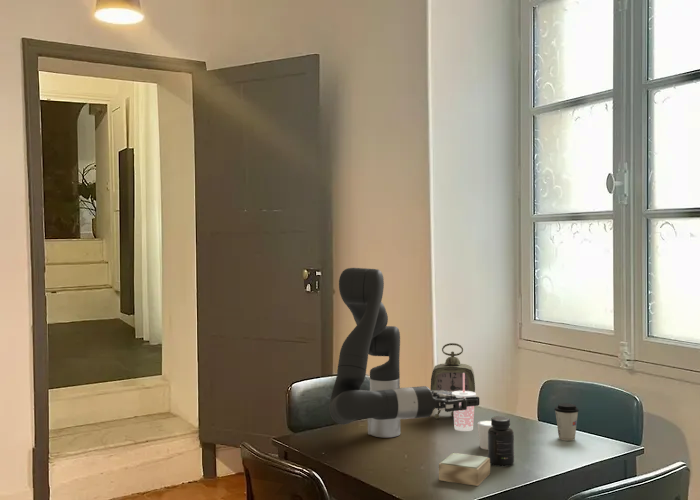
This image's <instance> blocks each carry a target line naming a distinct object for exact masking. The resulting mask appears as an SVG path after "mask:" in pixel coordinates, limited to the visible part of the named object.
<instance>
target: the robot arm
mask: <svg viewBox="0 0 700 500" xmlns="http://www.w3.org/2000/svg"><path fill="white" fill-rule="evenodd" d="M384 279H385V278H384V275H383V272H382V271H381V270H380V269H378V268H377V269H376V268H366V267H365V268H363V267H348V268H346V269H343V271H342V272H341V273H340V275H339V279H338V291H339V295H340V298H341V300H342V302H343V303H344V304H345V305H346V307H347V308H348V309H349V311H350V312H351V314H352V317H353V319H354V322H355V324H356V325H355V327H354V328H353V329H352V331H351V332H350V333H349V334H348V335H347V337H346V338H345V339H344V341H343V343H342V345H341V348H340V351H339V355H338V356H339V357H338V361H337V362H338V363H337V371H336V378H335V382H334V384H333V388H332V392H331V395H330V399H329V405H328V406H329V415H330V417H331V419H332V420H333V421H334V422H335V423H336V424H338V425H347V424H350V423H353V422H354V421H357V420H364V419H367V434H368V435H370V436H373V437H377V438H395V437H398V436H400V435H401V420H407V419H421V418H422V419H423V418H430V417H431V416H432V414H433V412H434V410H435V409H437V411H438V410H441V411H444V412H446V413H449V412H450V413H451V412H453V411H459V410H466V409H467V407H468V406H474V407H477V406H479V405H480V397H479V396H477V395H476V396H474V397H456V395H452V394H451V393H452V391H447V390H431V388H429V387H428V386H425V385H421V386H420V385H419V386H408V387H406V386H405V387H401V383H400V382H401V381H400V380H401V379H400V377H401V376H400V375H401V372H400V357H401V356H400V354H401V353H400V352H401V334H400V333H401V332H400V329H399V327H398V326H395V325H393V326H392V325H391V326H390V325H388V323H389V318H388V317H389V316H388V314H387V313H388V312H387V310H386V307H385V305H384V303H383V302H382V300H383V295H384V285H385V282H384ZM369 356H372V357H388V360H386V362H384V363H383V364H380V365H377V366H373V367H372V368H370V370H369V390H366V389H365V390H364V389H361V387H362V385H363V383H364V382H365V379H366V374H367V367H368V359H369ZM460 402H461V405H459V403H460Z"/></svg>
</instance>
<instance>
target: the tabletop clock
mask: <svg viewBox="0 0 700 500" xmlns="http://www.w3.org/2000/svg"><path fill="white" fill-rule="evenodd" d="M448 346H457V347H459V348H460V349H461V351H460V352H458V353H455V351H451V352H450V353H447V352H446V351H444V349H445V348H446V347H448ZM441 351H442V353H443V354H444V355H446V356H447V357H446V360H445V362H444V363H440V364H436V365H434V367H433V370H432V373H431V378H430V390H447V391H452V392H454V391H463V373H465V391H471V392H475V393H476V384H475V383H476V382H475V374H474V369H473V367H472V366H471V365H470V364H466V363H461V360H460V358H458V357H457V356H460V355H462V354H463V352H464V348H463V346H462V345H460V344H458V343H455V342H450V343H446V344H444V345H443V346H442V348H441ZM441 412H442V410H438V409H437V413H436V414H435V415H434V419H436V420H438V419H440V413H441ZM450 416H452V417H454V412H453V411H450Z"/></svg>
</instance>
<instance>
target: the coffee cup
mask: <svg viewBox="0 0 700 500" xmlns="http://www.w3.org/2000/svg"><path fill="white" fill-rule="evenodd" d="M553 410H554V412H555V418H556V427H557V433H558V439H559V440H561V441H565V442H567V441H568V442H569V441H575V440H576V434H577V433H576V432H577V424H578V416H579V415H578V414H579V411H580V410H579V408H578V407H577V406H576V404H573V403H568V402H566V403H565V402H562V403H558V405H557V406H555V407H554V409H553Z"/></svg>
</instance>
